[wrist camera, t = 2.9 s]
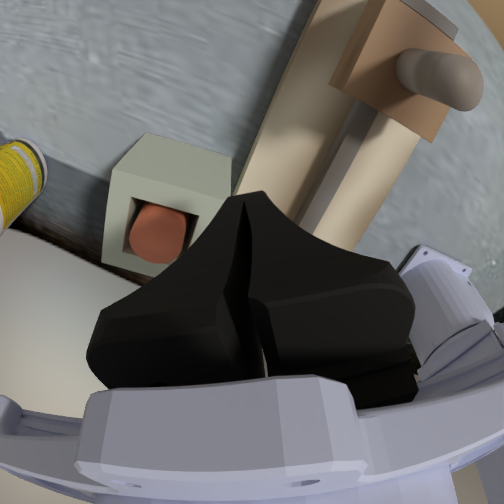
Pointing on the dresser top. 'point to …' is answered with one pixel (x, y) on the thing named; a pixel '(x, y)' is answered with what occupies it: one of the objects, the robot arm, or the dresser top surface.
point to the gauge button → (158, 233)
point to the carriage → (407, 68)
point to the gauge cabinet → (162, 194)
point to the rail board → (329, 134)
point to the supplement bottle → (19, 178)
